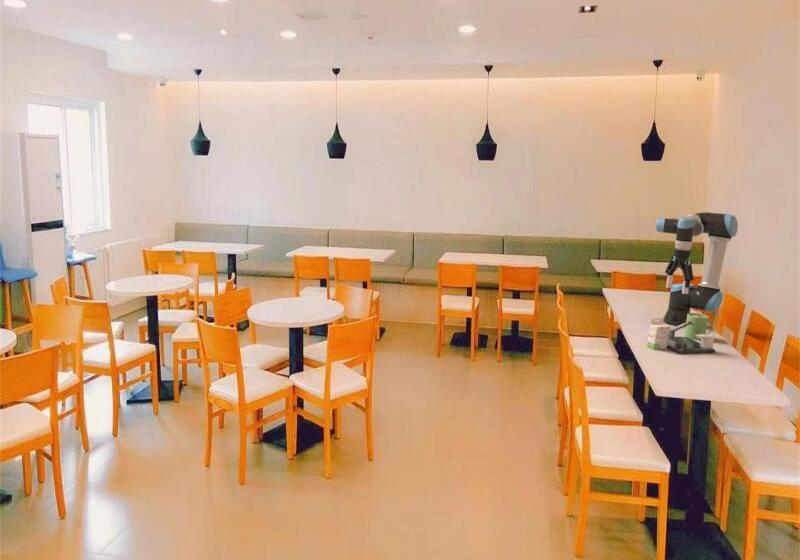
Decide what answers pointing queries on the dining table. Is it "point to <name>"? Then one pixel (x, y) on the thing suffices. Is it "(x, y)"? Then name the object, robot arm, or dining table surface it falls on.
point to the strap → (680, 326)
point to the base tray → (678, 350)
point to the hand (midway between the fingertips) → (676, 290)
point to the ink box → (658, 334)
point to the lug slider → (706, 340)
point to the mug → (696, 325)
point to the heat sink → (677, 341)
